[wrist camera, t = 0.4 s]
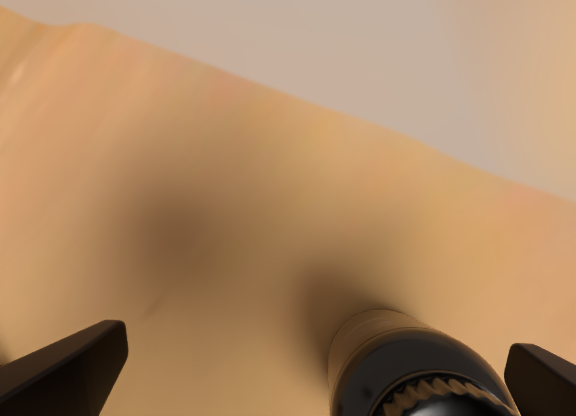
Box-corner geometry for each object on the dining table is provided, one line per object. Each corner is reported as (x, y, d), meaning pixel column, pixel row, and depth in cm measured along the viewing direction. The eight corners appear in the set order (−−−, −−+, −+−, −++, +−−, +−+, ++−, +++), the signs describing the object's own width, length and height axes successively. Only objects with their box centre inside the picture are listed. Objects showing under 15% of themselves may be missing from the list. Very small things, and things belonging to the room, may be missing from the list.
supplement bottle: (330, 425, 19) (333, 647, 8) (325, 308, 21) (322, 345, 9) (448, 429, 18) (652, 685, 7) (434, 307, 20) (583, 348, 8)
